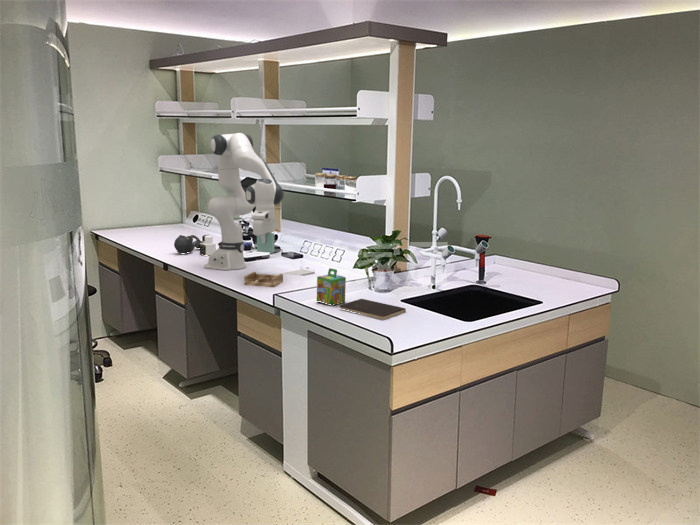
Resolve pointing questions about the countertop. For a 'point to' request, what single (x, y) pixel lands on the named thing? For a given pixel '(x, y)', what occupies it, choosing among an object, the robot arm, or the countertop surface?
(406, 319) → the countertop surface
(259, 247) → the panel
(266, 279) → the offcut short
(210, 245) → the medicine bottle
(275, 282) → the rack
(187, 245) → the gas mask
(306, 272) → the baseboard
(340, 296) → the green printed box
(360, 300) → the hardcover book
